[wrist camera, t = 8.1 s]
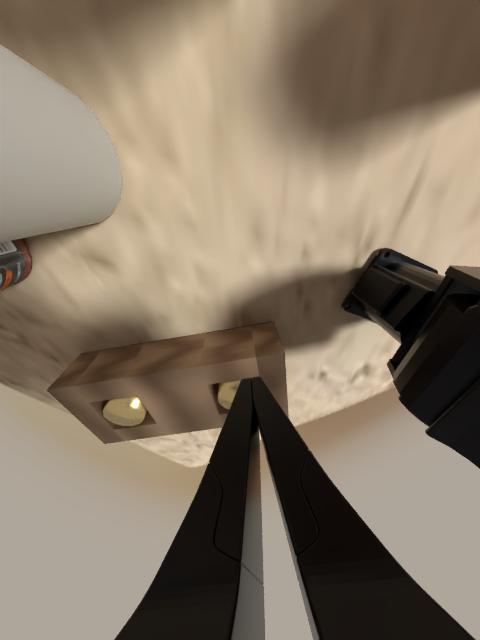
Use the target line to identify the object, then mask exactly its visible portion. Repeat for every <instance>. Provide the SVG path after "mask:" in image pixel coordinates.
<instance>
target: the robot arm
mask: <svg viewBox="0 0 480 640" xmlns="http://www.w3.org/2000/svg"><path fill="white" fill-rule="evenodd" d="M386 252H387V254H386V255H385V253H386ZM384 255H385V256H384ZM445 274H446V276H445V277H444V276H442V275H439V274H438V271H437V270H435V269H433V268H431V267H429V266H427V265H424V264H422V263H420V262H418V261H416V260H414V259H411V258H409V257H407V256H405V255H403V254H401V253H398V252H396V251H394V250H392V249H389V248H384V249H382V250H381V251H380V252H379V253H378V255H377V256H376V258H375V259H374V260H373V262H372V263H371V265H370V266H369V267H368V269H367V270H366V272H365V273H364V274H363V276H362V277H361V279H360V280H359V281H358V283H357V284H356V286H355V287H354V288H353V290H352V291H351V293H350V294H349V295H348V297H347V298H346V300H345V301H344V302H343V304H342V308H343V309H344V310H345V311H347V312H350V313H353V314H356V315H359V316H362V317H364V318H367V319H370V320H373V321H375V322H376V323H377V324H378V325H380V326H381V327H382V328H383V329H384V330H385V331H387V332H388V333H389V334H390V335H391V336H392V337H394V338H395V339H396V340H397V341H398V342H399V343H401V345H400V347H399V348H398V350H397V351H396V353H395V355H394V356H393V358H392V359H390V360H389V361H388V363H387V366H388V368H389V370H390V372H391V375H392V377H393V383H394V385H395V386H396V388H397V390H398V392H399V394H400V396H399V400H400V401H401V403H402V404H403V405H404V406H405V407H406V408H407V409H408V410H409V412H411V413H412V414H413V415H414V416H415V417H416V418H418V419H419V420H420V421H421V422H423V423H424V424H425V425H427V426H428V427H429V428H428V429H427V430H426V431H425V432H426V434H427V435H428V436H430V437H432V438H434V439H436V440H437V441H439V442H441V443H443V444H445V445H447V446H449V447H451V448H452V449H453V450H455V451H456V452H458V453H459V454H461V455H462V456H464V457H465V458H467V459H468V460H470V461H471V462H472V463H473V464H475V465H476V466H477V467H478V468H480V267H467V266H449V268H448V269H447V271H446V272H445ZM347 305H349V306H348V307H346V306H347ZM259 430H260V434H261V439H262V442H263V446H264V450H265V454H266V458H267V462H268V466H269V470H270V473H271V477H272V481H273V485H274V488H275V493H276V497H277V501H278V504H279V508H280V512H281V516H282V519H283V524H284V527H285V531H286V535H287V539H288V543H289V546H290V551H291V555H292V558H293V562H294V566H295V570H296V574H297V578H298V581H299V586H300V589H301V593H302V597H303V601H304V605H305V609H306V612H307V616H308V621H309V624H310V628H311V632H312V636H313V640H475V639H474V638H473V637H472V636H471V635H470V634H469V633H468V632H467V631H466V630H465V629H464V628H463V627H462V626H461V625H460V624H459V623H458V622H457V621H456V620H454V619H453V618H452V617H451V616H450V615H449V614H448V613H447V612H446V611H445V610H444V609H443V608H442V607H441V606H440V605H439V604H438V603H437V602H436V601H435V600H434V599H432V598H431V596H430V595H428V594H427V593H426V592H425V591H424V590H423V589H422V588H421V587H420V586H419V585H418V584H417V583H416V581H415V580H413V578H412V577H411V576H410V575H409V574H408V573H407V572H406V571H405V570H404V569H403V568H402V566H401V565H400V564H399V563H398V562H397V561H396V560H395V558H394V557H393V556H392V555H391V554H390V553H389V551H388V550H387V549H386V548H385V547H384V545H383V544H382V543H381V542H380V541H379V539H378V538H377V537H376V536H375V534H374V533H373V532H372V531H371V529H370V528H369V527H368V526H367V525H366V523H365V522H364V521H363V520H362V518H361V517H360V516H359V515H358V514H357V512H356V511H355V510H354V509H353V507H352V506H351V505H350V504H349V503H348V501H347V500H346V499H345V498H344V496H343V495H342V494H341V493H340V491H339V490H338V489H337V487H336V486H335V485H334V484H333V482H332V481H331V480H330V478H329V477H328V476H327V474H326V473H325V471H324V470H323V468H322V467H321V466H320V464H319V463H318V461H317V460H316V458H315V457H314V455H313V454H312V452H311V451H310V450H309V449H308V447H307V445H306V444H305V442H304V441H303V439H302V438H301V436H300V435H299V433H298V432H297V430H296V429H295V427H294V426H293V424H292V423H291V421H290V420H289V418H288V417H287V415H286V414H285V412H284V411H283V409H282V408H281V406H280V405H279V403H278V402H277V400H276V399H275V397H274V396H273V394H272V393H271V391H270V390H269V388H268V387H267V385H266V384H265V382H264V381H263V379H262V378H261V377H260V376H256V377H252V378H243V379H241V381H240V383H239V386H238V389H237V391H236V394H235V396H234V399H233V401H232V404H231V407H230V409H229V412H228V414H227V417H226V419H225V422H224V425H223V427H222V430H221V432H220V435H219V437H218V440H217V443H216V445H215V448H214V450H213V453H212V455H211V458H210V461H209V462H210V463H209V464H208V465H207V468H206V471H205V473H204V476H203V478H202V480H201V483H200V485H199V488H198V490H197V493H196V495H195V497H194V499H193V501H192V503H191V505H190V507H189V510H188V512H187V514H186V516H185V518H184V520H183V522H182V524H181V526H180V528H179V530H178V532H177V534H176V536H175V538H174V540H173V542H172V544H171V546H170V548H169V550H168V552H167V554H166V556H165V558H164V560H163V562H162V564H161V566H160V568H159V570H158V572H157V574H156V576H155V578H154V580H153V582H152V584H151V585H150V587H149V589H148V591H147V592H146V594H145V596H144V597H143V599H142V601H141V602H140V604H139V605H138V607H137V609H136V610H135V611H134V613H133V614H132V616H131V617H130V619H129V620H128V621H127V623H126V624H125V626H124V627H123V628H122V630H121V631H120V632H119V634H118V635H117V637H116V638H115V639H114V640H265V619H264V586H263V549H262V513H261V478H260V477H261V476H260V439H259Z"/></svg>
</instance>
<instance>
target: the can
mask: <svg viewBox="0 0 480 640" xmlns="http://www.w3.org/2000/svg"><path fill="white" fill-rule="evenodd" d="M122 184H123V180H122V173H121V167H120V160H119V158H118V155H117V153H116V150H115V148H114V145H113V143H112V140H111V138H110V136H109V134H108V133H107V131H106V130H105V128H104V127H103V125H102V124H101V122H100V121H99V119H98V118H97V116H96V115H95V114H94V112H93V111H92V110H91V109H89V108H88V107H87V106H86V105H85V104H84V103H83V102H82V101H81V100H80V99H79V98H78V97H77V96H76V95H75V94H74V93H73V92H71V91H70V90H68V89H67V88H65V87H64V86H62V85H61V84H59V83H58V82H56V81H55V80H53V79H52V78H50V77H49V76H47V75H46V74H44V73H43V72H41V71H40V70H38V69H37V68H35V67H34V66H32V65H31V64H29V63H28V62H26V61H25V60H23V59H22V58H20V57H19V56H17V55H16V54H14V53H13V52H11V51H10V50H8V49H7V48H5V47H4V46H2V45H1V44H0V243H1V242H6V241H11V240H16V239H21V238H26V237H31V236H36V235H41V234H46V233H51V232H56V231H61V230H66V229H71V228H76V227H81V226H86V225H90V224H95V223H99V222H102V221H103V220H105V219H106V218H107V217H109V216H110V215H112V214H113V212H114V211H115V209H116V207H117V205H118V203H119V201H120V199H121V191H122Z"/></svg>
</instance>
